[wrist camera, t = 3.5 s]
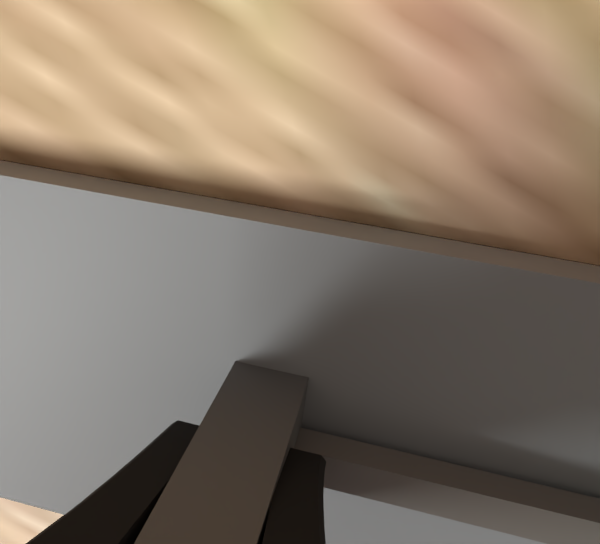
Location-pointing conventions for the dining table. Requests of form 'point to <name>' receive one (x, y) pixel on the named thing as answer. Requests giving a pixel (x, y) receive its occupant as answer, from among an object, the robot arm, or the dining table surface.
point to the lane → (283, 342)
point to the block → (335, 475)
